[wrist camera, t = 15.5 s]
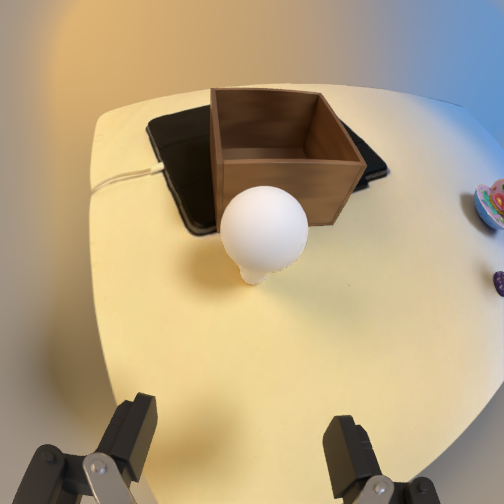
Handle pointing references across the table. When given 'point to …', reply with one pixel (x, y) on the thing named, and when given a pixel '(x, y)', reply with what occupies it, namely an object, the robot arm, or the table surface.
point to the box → (281, 149)
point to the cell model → (491, 204)
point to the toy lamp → (499, 282)
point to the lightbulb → (263, 232)
